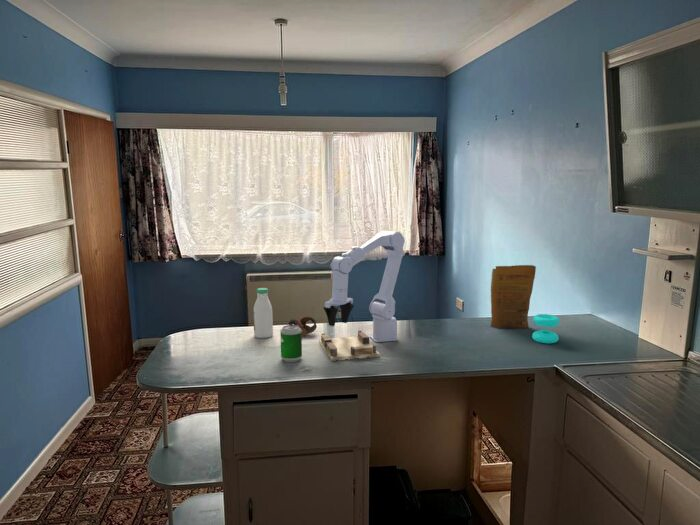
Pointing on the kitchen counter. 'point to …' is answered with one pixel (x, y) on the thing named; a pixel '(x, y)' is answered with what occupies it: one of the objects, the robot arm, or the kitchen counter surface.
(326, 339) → the folding leg
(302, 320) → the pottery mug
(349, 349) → the stool seat
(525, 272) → the pancake mix bag
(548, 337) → the donuts
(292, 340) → the soda can
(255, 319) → the milk bottle
